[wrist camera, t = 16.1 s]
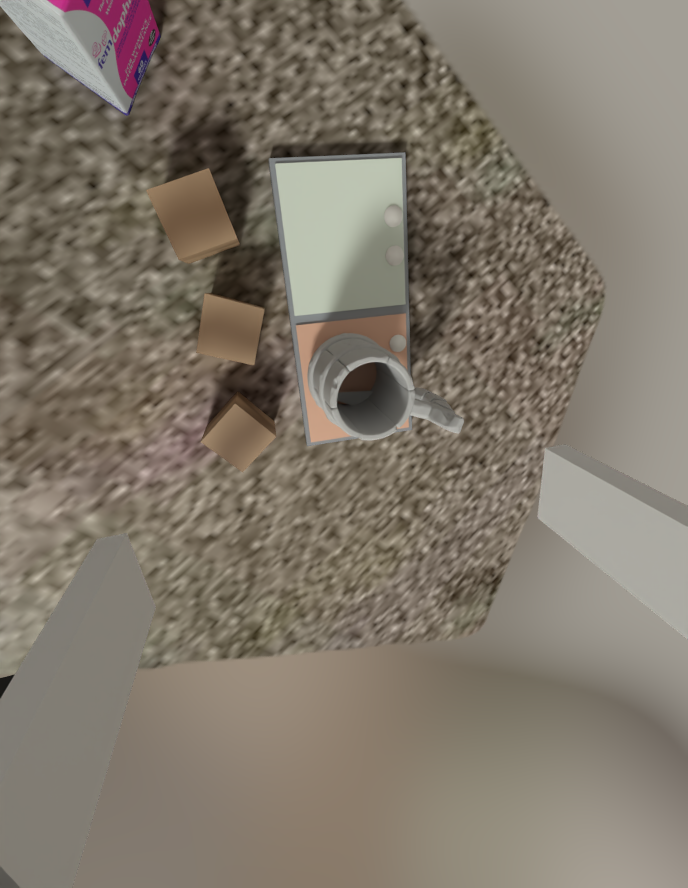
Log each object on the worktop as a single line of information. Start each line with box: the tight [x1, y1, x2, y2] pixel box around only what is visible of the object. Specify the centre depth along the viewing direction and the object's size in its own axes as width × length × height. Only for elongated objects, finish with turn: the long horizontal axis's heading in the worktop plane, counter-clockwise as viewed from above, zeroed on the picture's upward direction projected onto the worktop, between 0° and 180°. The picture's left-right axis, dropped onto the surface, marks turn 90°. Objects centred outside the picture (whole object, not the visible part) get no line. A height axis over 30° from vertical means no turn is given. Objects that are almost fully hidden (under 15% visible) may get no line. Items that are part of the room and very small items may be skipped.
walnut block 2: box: [196, 293, 265, 365], centre depth 33 cm, size 4×4×4 cm
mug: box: [307, 333, 464, 440], centre depth 32 cm, size 8×12×12 cm, turn 73°
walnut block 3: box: [201, 392, 276, 472], centre depth 36 cm, size 4×4×4 cm
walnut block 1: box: [146, 168, 240, 264], centre depth 30 cm, size 4×4×4 cm
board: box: [269, 153, 412, 446], centre depth 36 cm, size 24×11×1 cm, turn 5°
